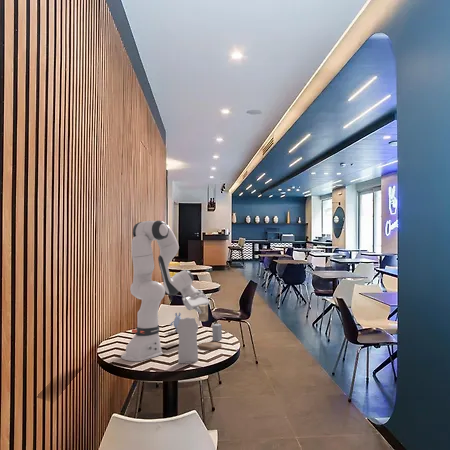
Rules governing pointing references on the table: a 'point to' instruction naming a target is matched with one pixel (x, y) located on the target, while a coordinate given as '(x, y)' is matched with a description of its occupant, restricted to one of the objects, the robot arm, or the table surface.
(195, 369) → the table surface
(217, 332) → the slate grey block
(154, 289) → the robot arm
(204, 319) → the birch block
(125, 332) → the table surface
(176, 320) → the toy figure
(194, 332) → the tall pale column
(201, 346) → the walnut board
